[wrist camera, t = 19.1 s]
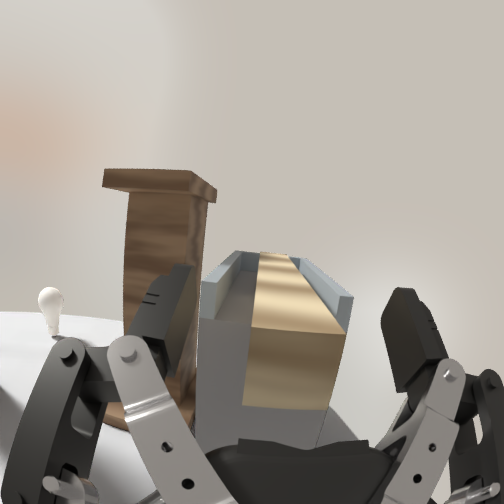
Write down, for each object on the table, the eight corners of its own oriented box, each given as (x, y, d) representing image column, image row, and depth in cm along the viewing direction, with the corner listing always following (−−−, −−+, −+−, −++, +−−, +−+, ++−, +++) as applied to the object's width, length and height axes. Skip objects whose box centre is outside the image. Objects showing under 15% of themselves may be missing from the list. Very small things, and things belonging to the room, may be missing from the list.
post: (184, 445, 29) (198, 169, 25) (100, 421, 29) (92, 167, 26) (208, 379, 46) (224, 191, 43) (145, 366, 47) (152, 186, 44)
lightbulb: (53, 328, 52) (50, 282, 51) (71, 335, 52) (68, 287, 51) (37, 336, 46) (31, 287, 45) (54, 344, 46) (49, 293, 44)
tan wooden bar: (327, 410, 9) (346, 334, 9) (242, 405, 9) (251, 326, 9) (283, 280, 35) (286, 254, 35) (257, 277, 35) (260, 251, 35)
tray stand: (292, 504, 20) (353, 296, 18) (196, 495, 20) (201, 280, 18) (283, 399, 42) (306, 258, 40) (222, 393, 42) (235, 250, 40)
